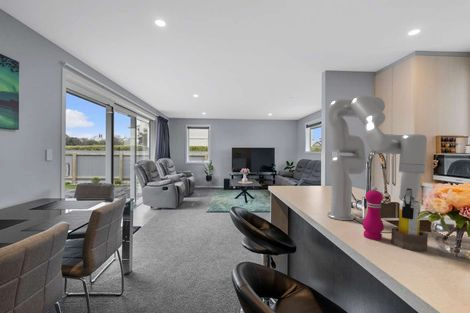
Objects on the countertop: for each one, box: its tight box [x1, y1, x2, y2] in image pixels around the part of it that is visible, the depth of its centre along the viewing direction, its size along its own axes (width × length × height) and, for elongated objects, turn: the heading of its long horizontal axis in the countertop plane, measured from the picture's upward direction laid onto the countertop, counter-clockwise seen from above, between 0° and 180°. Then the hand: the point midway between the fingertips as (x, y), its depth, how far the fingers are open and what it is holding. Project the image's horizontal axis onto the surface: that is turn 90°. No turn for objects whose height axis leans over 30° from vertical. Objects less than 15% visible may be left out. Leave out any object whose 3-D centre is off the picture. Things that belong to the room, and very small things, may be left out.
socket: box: [390, 226, 429, 252], centre depth 87 cm, size 10×10×5 cm
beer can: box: [398, 199, 421, 236], centre depth 87 cm, size 6×6×15 cm
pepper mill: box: [362, 186, 384, 241], centre depth 94 cm, size 7×7×20 cm
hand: (408, 215), depth 87 cm, fingers open, 9 cm apart
